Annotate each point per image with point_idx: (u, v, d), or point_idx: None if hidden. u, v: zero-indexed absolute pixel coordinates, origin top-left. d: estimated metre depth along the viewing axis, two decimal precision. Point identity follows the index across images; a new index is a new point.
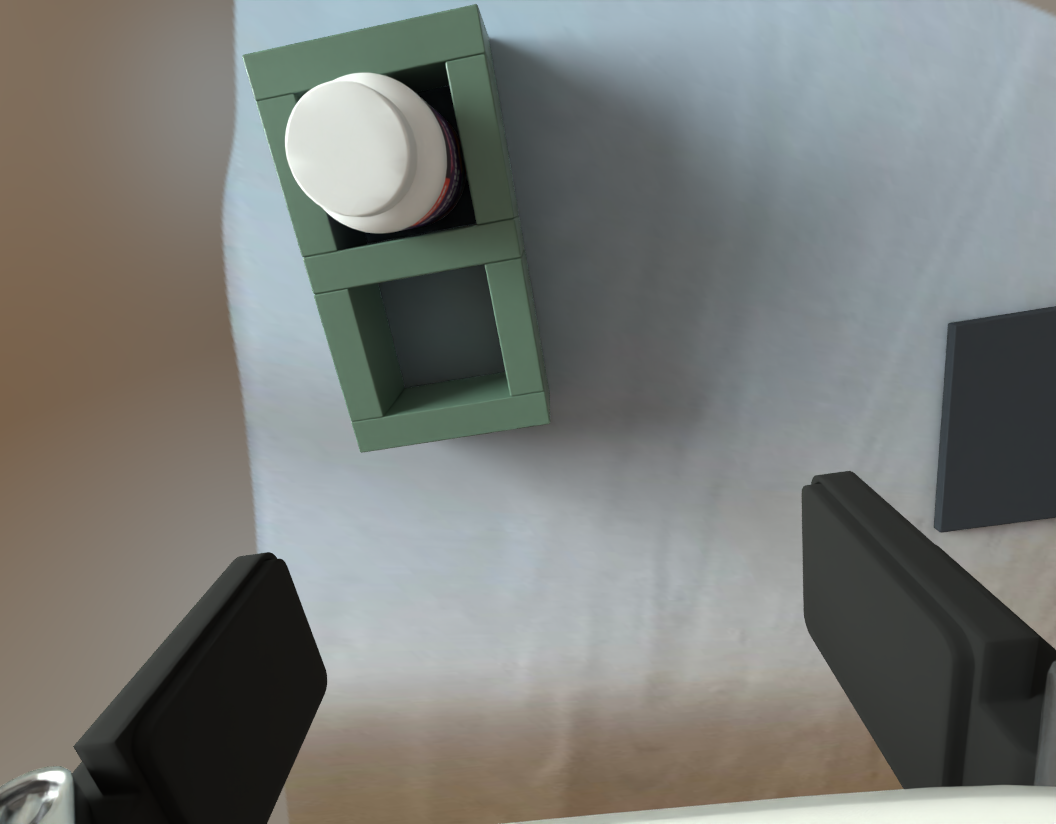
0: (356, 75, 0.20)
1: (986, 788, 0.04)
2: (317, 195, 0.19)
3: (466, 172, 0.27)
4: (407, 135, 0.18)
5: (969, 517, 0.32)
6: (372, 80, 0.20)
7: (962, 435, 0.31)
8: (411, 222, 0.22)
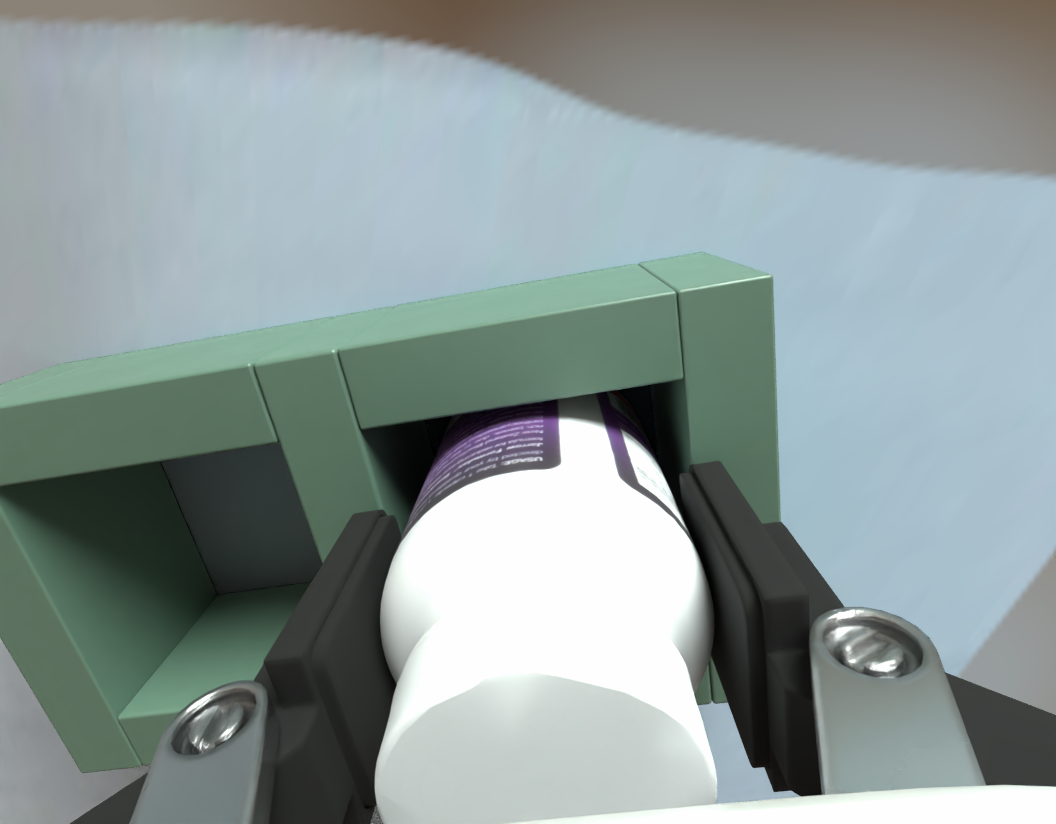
0: (710, 640, 0.09)
1: (986, 788, 0.04)
2: (423, 729, 0.06)
3: None
4: None
5: None
6: (697, 675, 0.09)
7: None
8: None
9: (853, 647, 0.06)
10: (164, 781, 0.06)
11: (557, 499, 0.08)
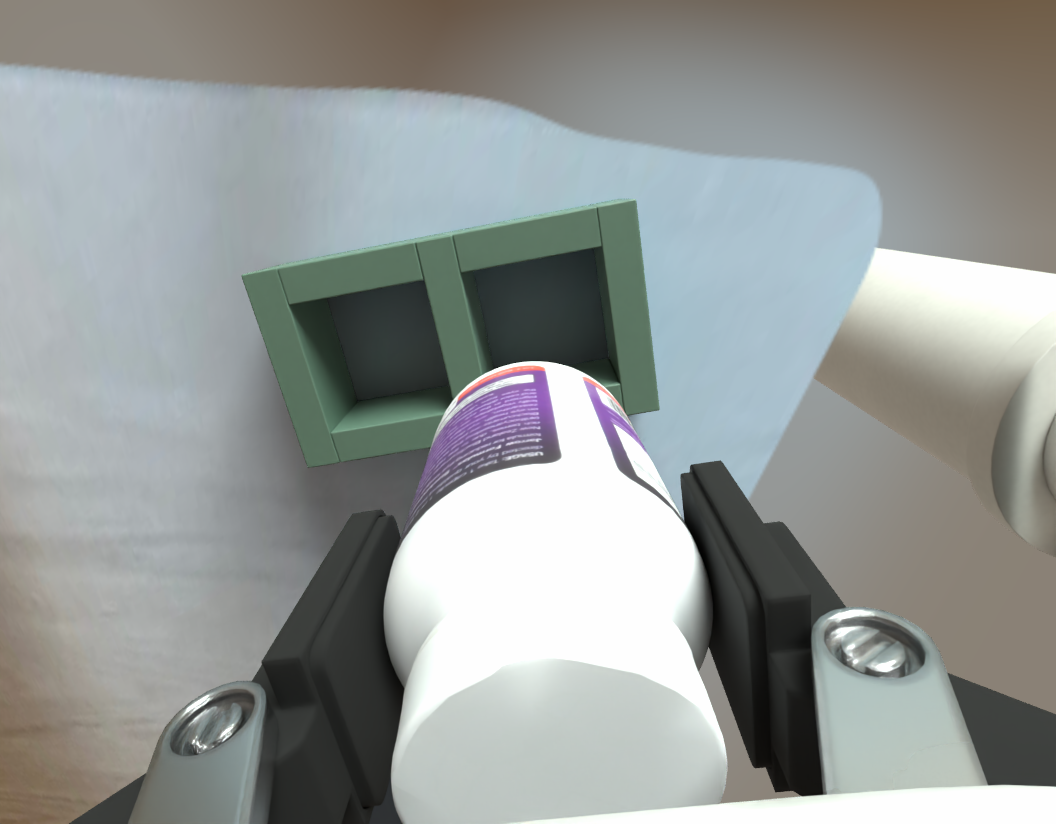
0: (710, 627, 0.09)
1: (985, 788, 0.04)
2: (441, 719, 0.06)
3: None
4: None
5: None
6: (698, 662, 0.09)
7: None
8: None
9: (855, 647, 0.06)
10: (162, 782, 0.06)
11: (562, 492, 0.08)
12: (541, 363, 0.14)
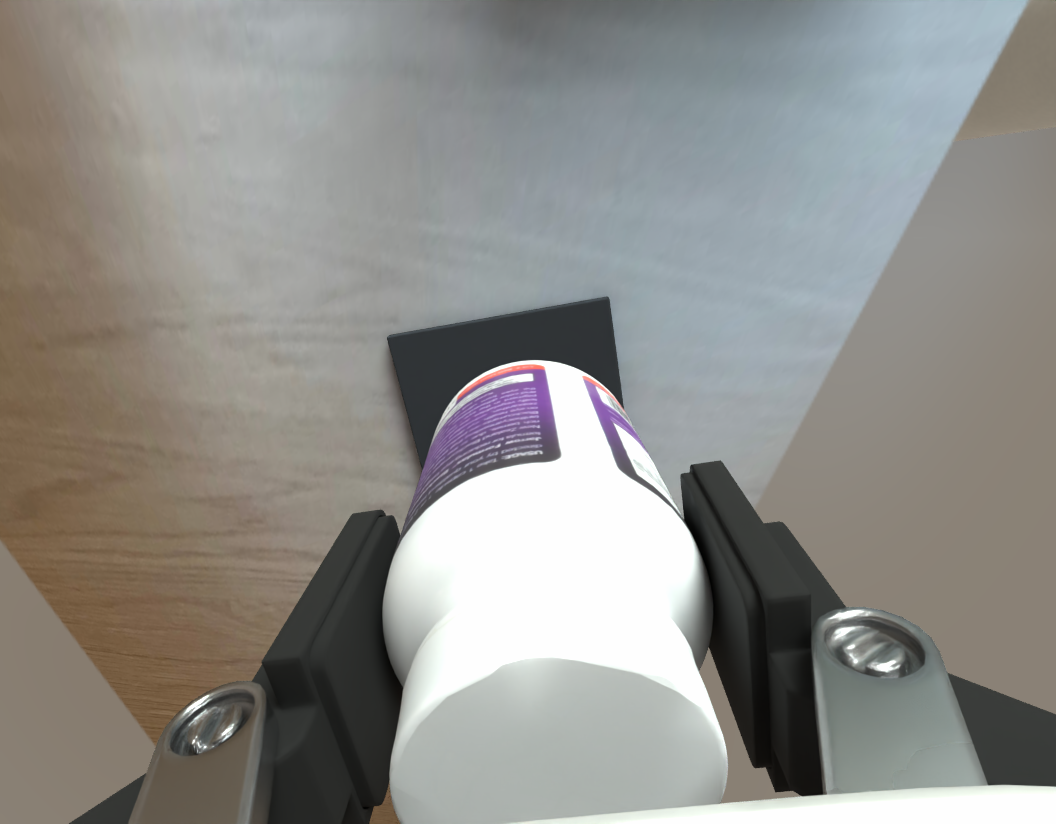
0: (710, 626, 0.09)
1: (986, 788, 0.04)
2: (439, 719, 0.06)
3: None
4: None
5: (407, 362, 0.32)
6: (698, 661, 0.09)
7: (497, 332, 0.31)
8: None
9: (855, 647, 0.06)
10: (162, 782, 0.06)
11: (561, 490, 0.08)
12: (540, 362, 0.14)
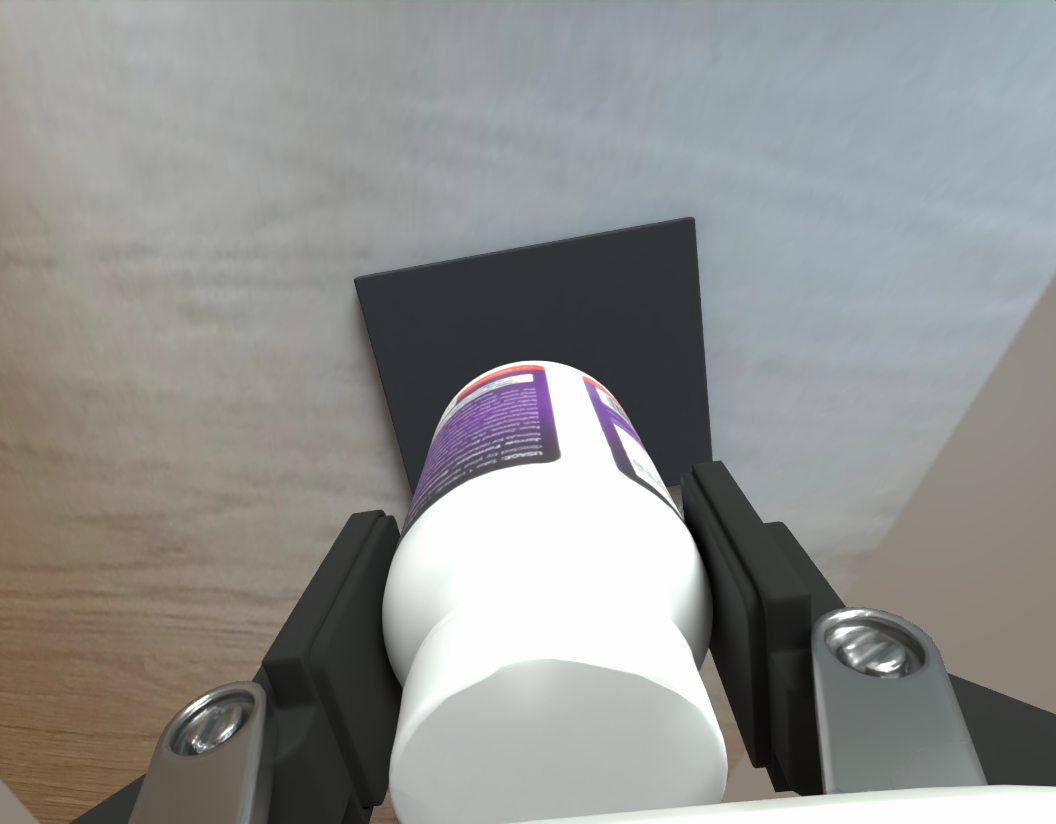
0: (710, 627, 0.09)
1: (986, 788, 0.04)
2: (439, 720, 0.06)
3: None
4: None
5: (385, 317, 0.21)
6: (698, 662, 0.09)
7: (521, 271, 0.20)
8: None
9: (855, 647, 0.06)
10: (162, 782, 0.06)
11: (561, 491, 0.08)
12: (540, 362, 0.14)
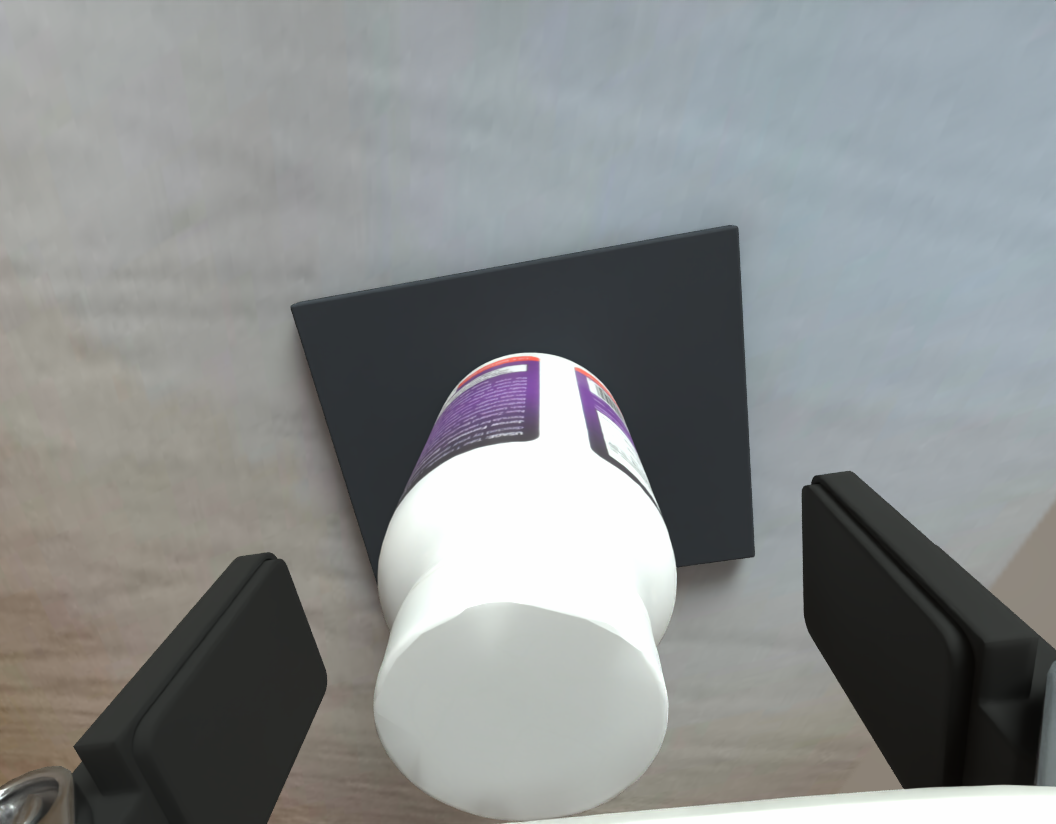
0: (672, 594, 0.10)
1: (986, 788, 0.04)
2: (415, 654, 0.07)
3: None
4: None
5: (332, 355, 0.16)
6: (661, 625, 0.10)
7: (509, 297, 0.15)
8: None
9: None
10: None
11: (534, 466, 0.09)
12: (536, 354, 0.15)
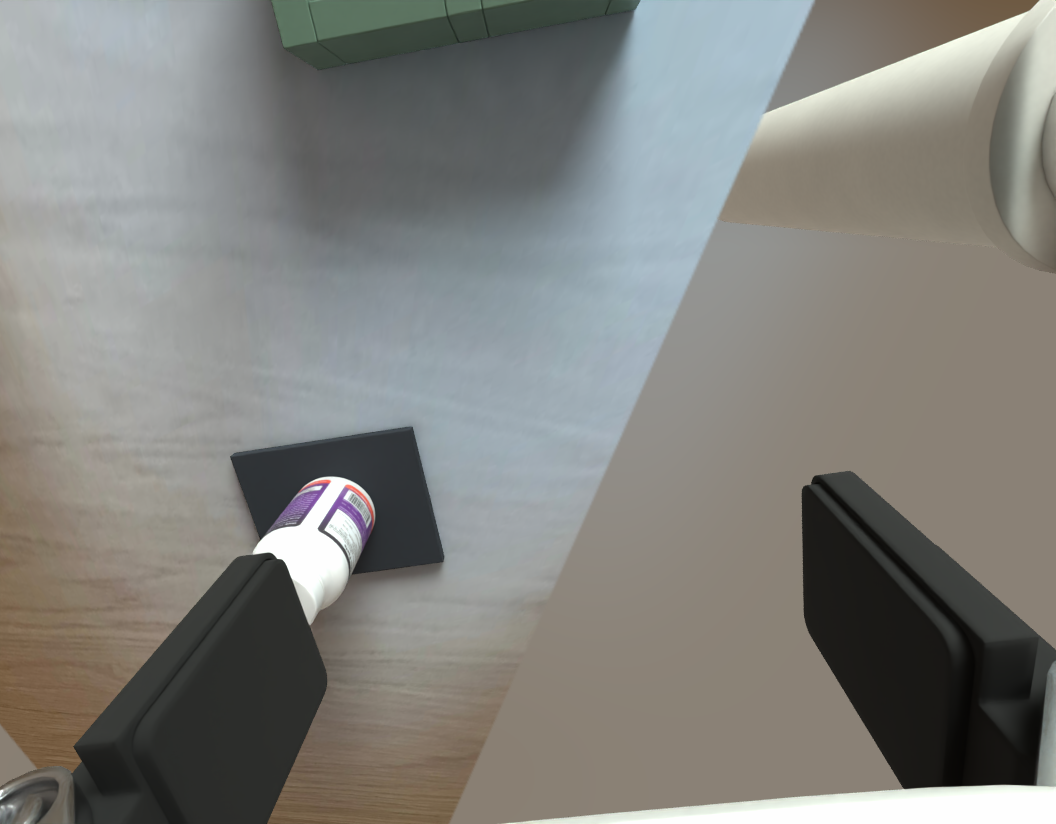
0: (341, 573, 0.32)
1: (986, 788, 0.04)
2: None
3: None
4: None
5: (248, 476, 0.38)
6: (338, 583, 0.32)
7: (321, 454, 0.37)
8: None
9: None
10: None
11: (293, 535, 0.31)
12: (332, 478, 0.37)
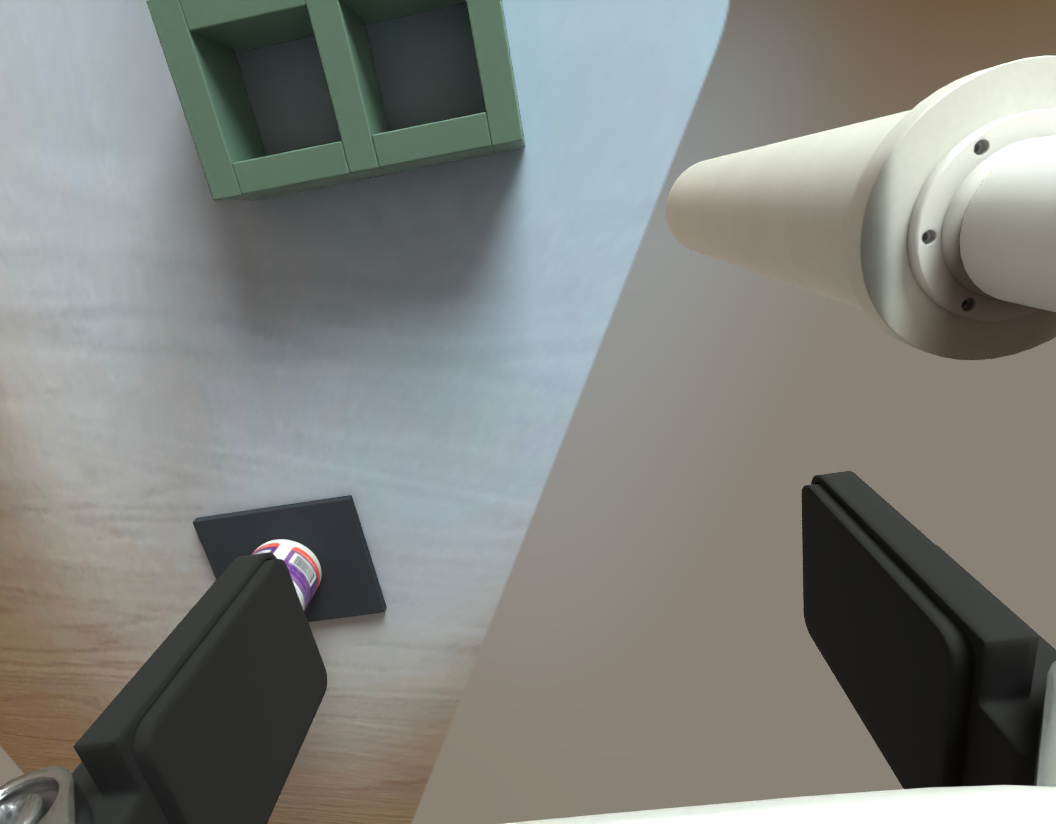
0: None
1: (986, 788, 0.04)
2: None
3: None
4: None
5: (209, 538, 0.43)
6: None
7: (272, 520, 0.42)
8: None
9: None
10: None
11: None
12: (281, 541, 0.42)
